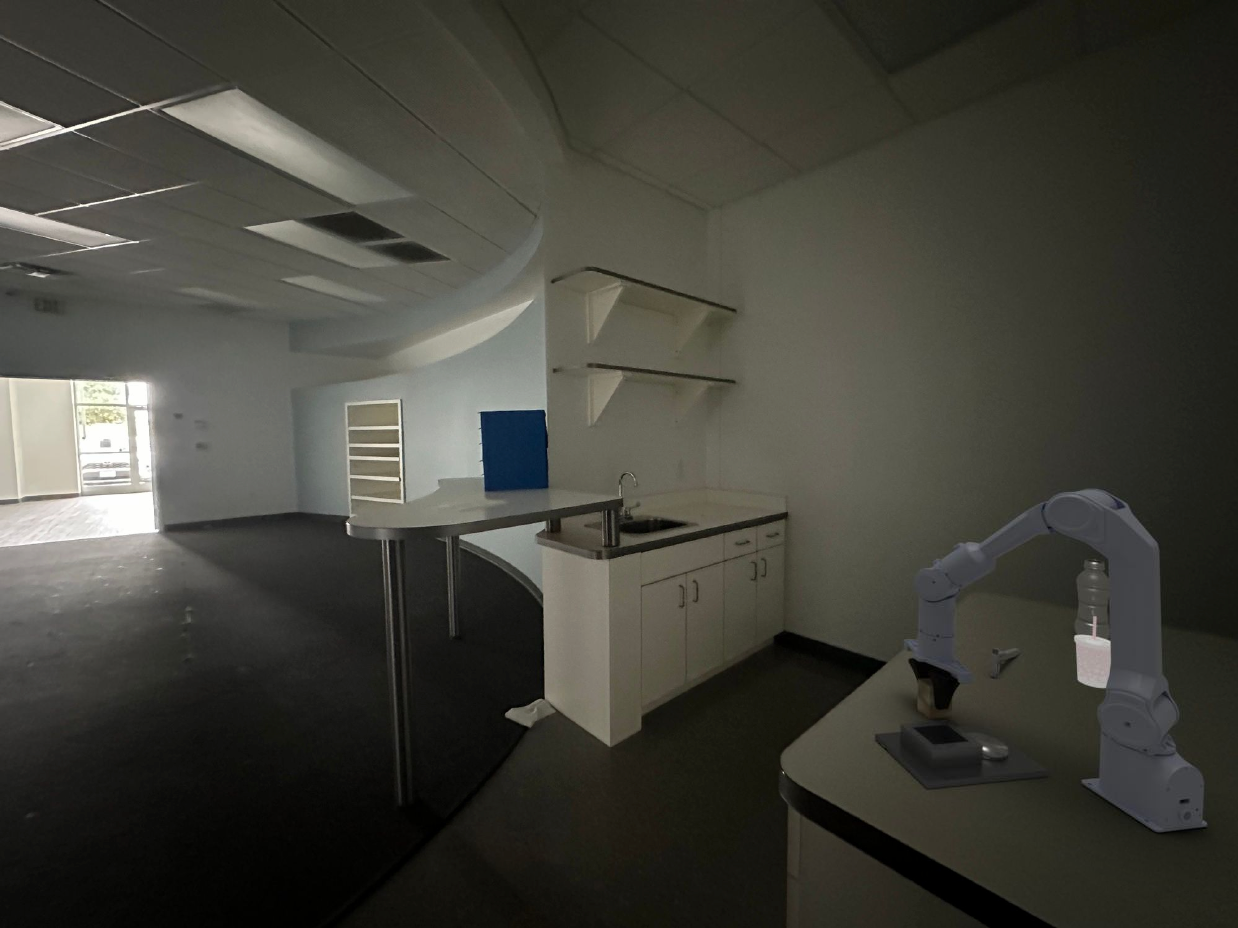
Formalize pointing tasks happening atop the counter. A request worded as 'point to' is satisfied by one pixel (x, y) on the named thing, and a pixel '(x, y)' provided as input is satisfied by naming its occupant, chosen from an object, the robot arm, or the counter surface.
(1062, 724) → the counter surface
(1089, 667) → the beverage cup
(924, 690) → the cardboard box
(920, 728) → the black tray
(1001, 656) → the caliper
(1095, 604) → the plastic bottle
